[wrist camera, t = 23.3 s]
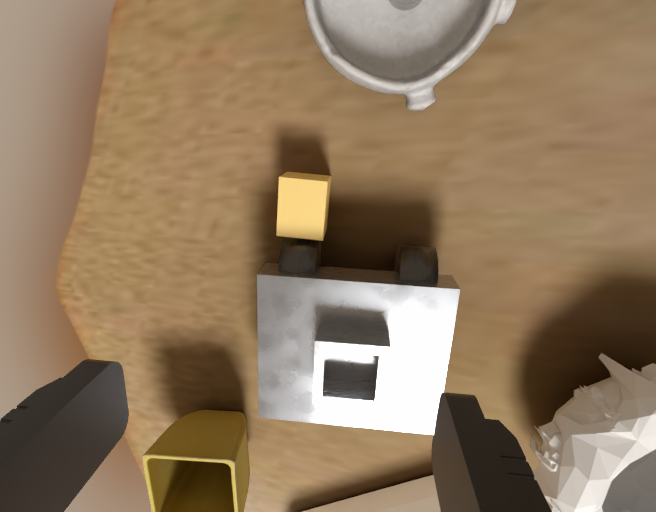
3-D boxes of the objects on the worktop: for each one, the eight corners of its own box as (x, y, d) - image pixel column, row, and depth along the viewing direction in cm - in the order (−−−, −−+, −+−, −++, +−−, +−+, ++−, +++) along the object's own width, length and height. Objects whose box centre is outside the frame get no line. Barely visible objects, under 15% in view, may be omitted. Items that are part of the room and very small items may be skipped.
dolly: (446, 239, 37) (472, 277, 28) (422, 401, 42) (438, 476, 34) (275, 228, 38) (247, 260, 29) (274, 388, 44) (251, 456, 35)
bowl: (777, 408, 39) (909, 498, 30) (613, 524, 45) (679, 629, 36) (623, 291, 37) (713, 348, 27) (473, 430, 43) (503, 516, 34)
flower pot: (182, 392, 45) (140, 455, 36) (258, 396, 44) (233, 461, 36) (191, 454, 48) (153, 526, 39) (262, 459, 47) (240, 533, 38)
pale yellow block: (331, 175, 36) (327, 181, 32) (326, 229, 38) (322, 240, 34) (287, 171, 36) (279, 176, 32) (284, 224, 38) (276, 235, 34)
